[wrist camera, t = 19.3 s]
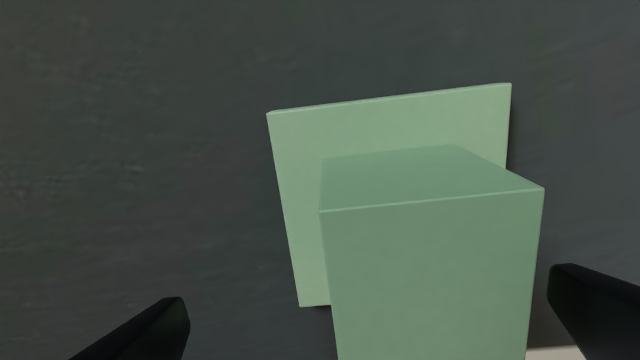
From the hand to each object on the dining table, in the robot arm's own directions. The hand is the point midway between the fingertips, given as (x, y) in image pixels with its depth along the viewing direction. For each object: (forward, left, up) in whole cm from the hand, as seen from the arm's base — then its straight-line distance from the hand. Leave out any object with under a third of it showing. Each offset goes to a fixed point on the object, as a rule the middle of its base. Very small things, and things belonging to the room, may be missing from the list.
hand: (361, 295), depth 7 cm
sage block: (0, -2, -4) cm, 4 cm away
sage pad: (0, -2, -5) cm, 5 cm away
